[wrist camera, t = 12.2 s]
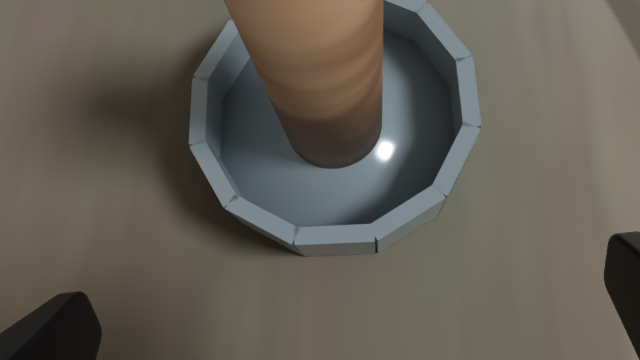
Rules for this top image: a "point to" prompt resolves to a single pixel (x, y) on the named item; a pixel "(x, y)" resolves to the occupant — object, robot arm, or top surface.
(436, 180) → the bowl
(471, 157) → the top surface
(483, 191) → the top surface
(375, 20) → the brown cylinder
